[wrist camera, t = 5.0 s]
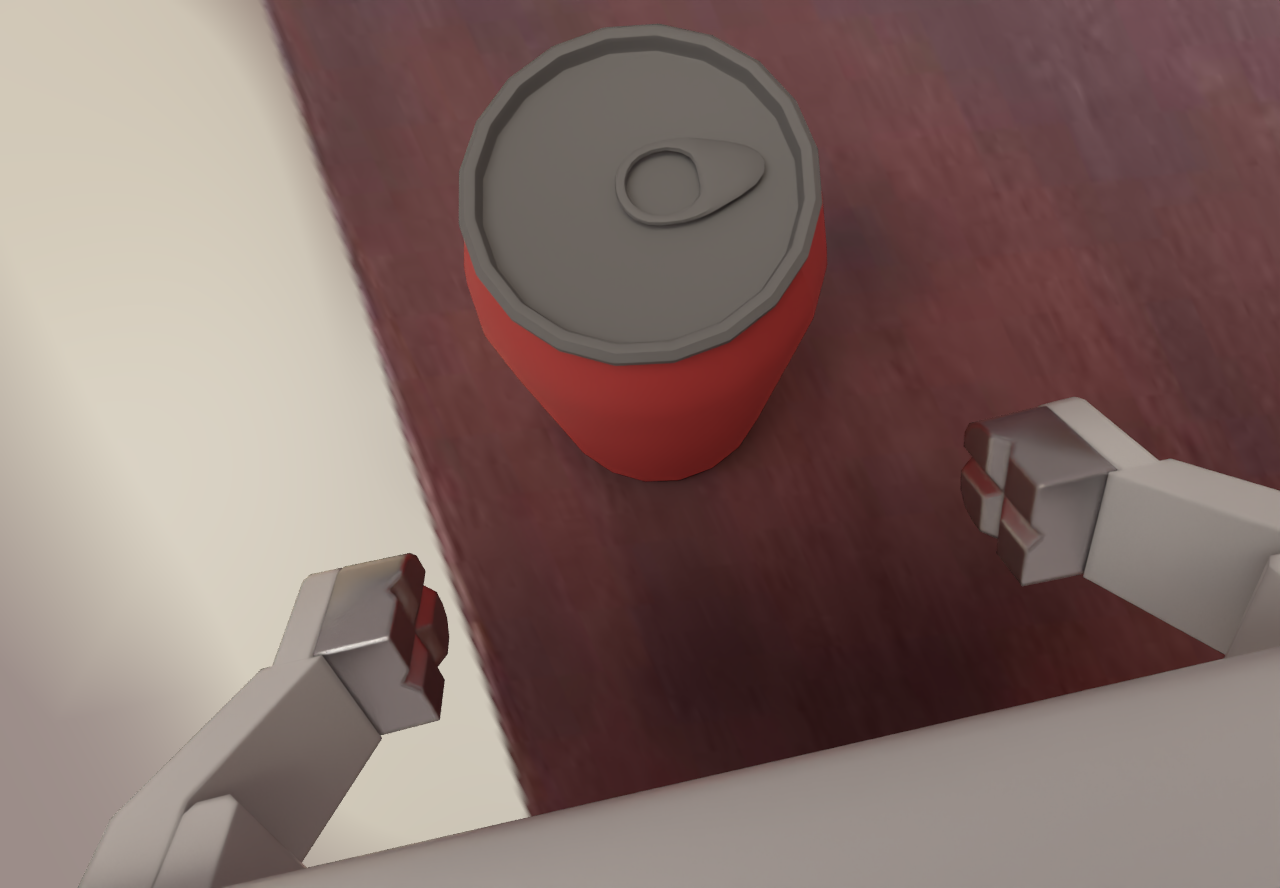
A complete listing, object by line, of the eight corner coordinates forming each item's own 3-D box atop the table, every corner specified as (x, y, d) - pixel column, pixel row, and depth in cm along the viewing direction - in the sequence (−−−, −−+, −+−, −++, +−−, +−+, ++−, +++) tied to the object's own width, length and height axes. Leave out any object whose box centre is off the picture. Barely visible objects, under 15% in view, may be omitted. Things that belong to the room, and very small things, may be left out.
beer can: (785, 461, 22) (909, 346, 10) (574, 503, 22) (456, 437, 10) (738, 262, 23) (802, -51, 11) (538, 303, 23) (394, 38, 11)
